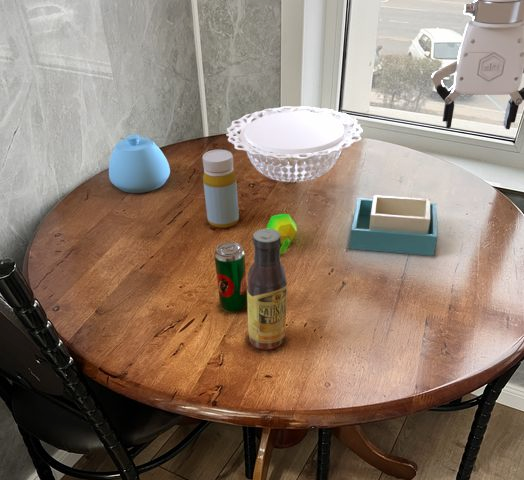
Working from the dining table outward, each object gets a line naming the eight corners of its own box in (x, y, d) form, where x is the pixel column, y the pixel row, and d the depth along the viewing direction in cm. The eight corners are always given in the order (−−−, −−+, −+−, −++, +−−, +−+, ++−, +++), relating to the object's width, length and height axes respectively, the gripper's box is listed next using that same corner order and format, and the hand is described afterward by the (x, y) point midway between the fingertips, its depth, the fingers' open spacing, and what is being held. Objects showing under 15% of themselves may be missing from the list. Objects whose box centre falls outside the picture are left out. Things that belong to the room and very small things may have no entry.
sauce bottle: (261, 357, 88) (256, 252, 74) (241, 336, 92) (233, 233, 78) (294, 342, 90) (295, 238, 77) (274, 322, 94) (271, 220, 81)
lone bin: (425, 224, 115) (430, 198, 111) (425, 246, 109) (430, 219, 105) (370, 220, 117) (373, 195, 113) (367, 241, 111) (370, 215, 107)
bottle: (242, 214, 122) (237, 149, 112) (235, 230, 117) (230, 163, 107) (212, 212, 124) (205, 148, 113) (204, 228, 119) (196, 162, 108)
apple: (273, 201, 111) (291, 221, 105) (295, 215, 115) (313, 234, 108) (253, 229, 113) (269, 250, 107) (275, 242, 117) (291, 263, 111)
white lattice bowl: (378, 200, 125) (385, 146, 116) (245, 221, 120) (242, 166, 111) (332, 147, 148) (334, 99, 139) (219, 163, 143) (214, 114, 134)
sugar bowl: (99, 190, 134) (88, 144, 126) (131, 166, 144) (122, 121, 136) (152, 199, 129) (144, 151, 122) (181, 173, 140) (175, 127, 132)
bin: (432, 221, 117) (436, 203, 114) (433, 256, 107) (437, 236, 104) (355, 216, 120) (357, 197, 117) (349, 248, 110) (351, 229, 107)
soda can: (248, 312, 96) (244, 255, 88) (220, 315, 96) (213, 257, 88) (247, 295, 100) (243, 239, 92) (219, 297, 100) (213, 241, 92)
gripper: (441, 18, 81) (425, 133, 93) (565, 15, 78) (533, 135, 89) (440, 8, 87) (425, 117, 98) (556, 5, 83) (527, 119, 95)
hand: (476, 126), depth 94 cm, fingers open, 9 cm apart
